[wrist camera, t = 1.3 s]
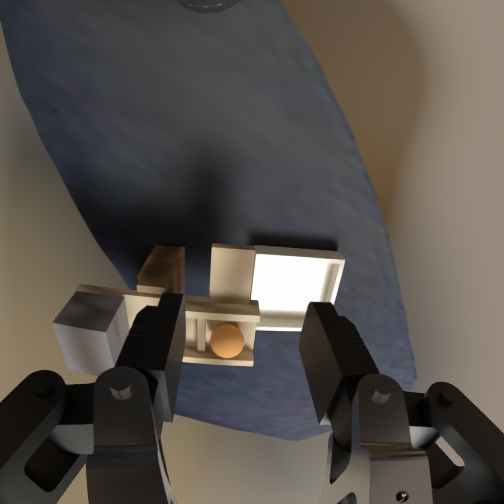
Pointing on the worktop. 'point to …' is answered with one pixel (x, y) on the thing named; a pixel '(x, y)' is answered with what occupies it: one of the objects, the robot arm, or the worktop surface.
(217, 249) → the lever
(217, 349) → the ball
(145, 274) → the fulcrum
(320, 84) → the worktop surface
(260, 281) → the dish
